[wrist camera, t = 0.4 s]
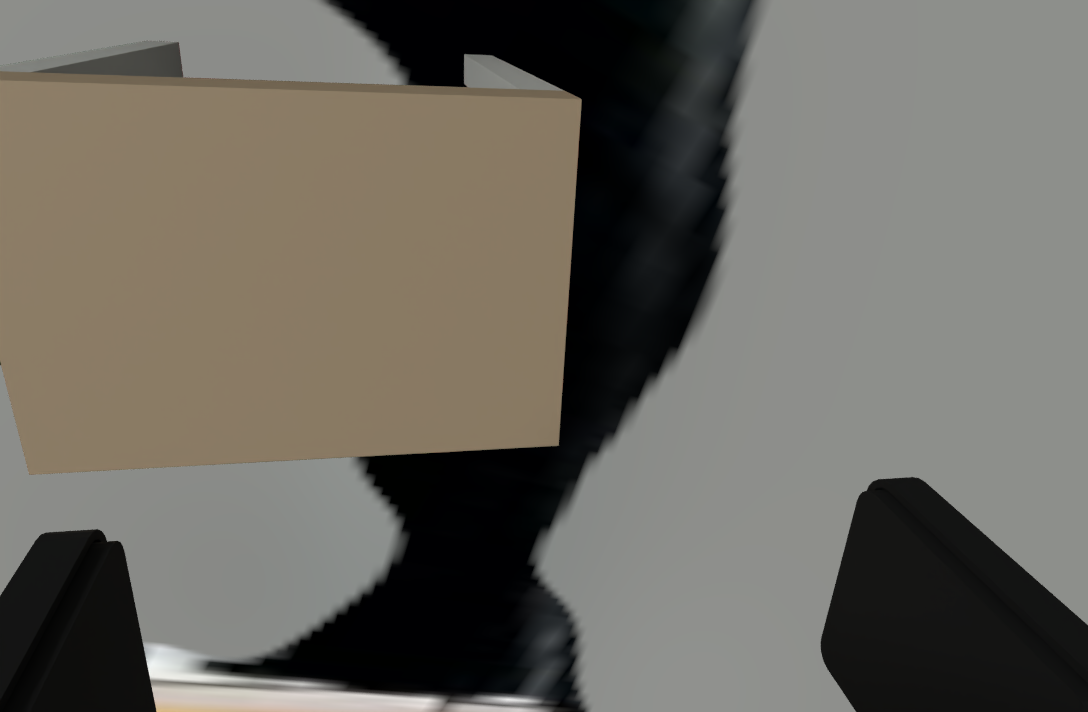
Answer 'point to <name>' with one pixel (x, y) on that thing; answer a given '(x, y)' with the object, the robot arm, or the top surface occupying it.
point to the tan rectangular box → (279, 262)
